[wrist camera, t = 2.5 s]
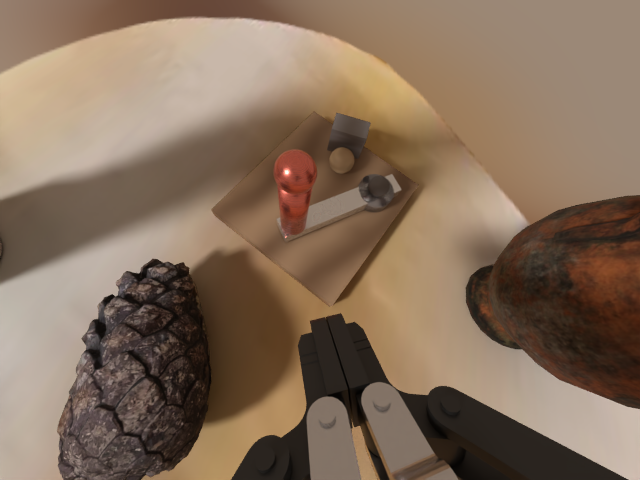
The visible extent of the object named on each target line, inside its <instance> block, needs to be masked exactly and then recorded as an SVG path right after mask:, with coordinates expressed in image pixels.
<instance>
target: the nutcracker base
mask: <svg viewBox="0 0 640 480" xmlns="http://www.w3.org/2000/svg"><path fill="white" fill-rule="evenodd" d="M369 127H370V122H367V121H363V120H360V119H356V118H353V117H350V116H346V115H343V114H340V113H336V116H335V120H334V123H333V124H331V123H330V122H328V121H327V120H326V119H324V118H323V117H321V116H320V115H318V114H317V113H316V112H313V113H312V114H311V115H310V116H309V117H308V118H307V119H306V120H305V121H304V122H302V123H301V124H300V125H299V126H298V127H297V128H296V129H295V130H294V131H293V132H292V133H291V134H290V135H289V136H288V137H287V138H286V139H285V140H284V141H283V142H282V143H280V144H279V145H278V146H277V147H276V148H275V149H274V150H273V151H272V152H271V153H270V154H269V155H268V156H267V157H266V158H265V159H264V160H263V161H262V162H261V163H260V164H259V165H257V166H256V167H255V168H254V169H253V170H252V171H251V172H250V173H249V174H248V175H247V176H246V177H245V178H244V179H243V180H242V181H241V182H240V183H239V184H238V185H237V186H235V187H234V188H233V189H232V190H231V191H230V192H229V193H228V194H227V195H226V196H225V197H224V198H223V199H222V200H221V201H220V202H219V203H218V204H217V205H216V206H215V207H213V208H212V209H211V210H212V212H213V213H214V215H215V216H216V217H217V218H218V219H220V220H221V221H222V222H223V223H225V224H226V225H227V226H229V227H230V228H231V229H232V230H234V231H235V232H236V233H237V234H239V235H240V236H241V237H242V238H244V239H245V240H246V241H247V242H249V243H250V244H251V245H252V246H254V247H255V248H256V249H258V250H259V251H260V252H261V253H263V254H264V255H265V256H266V257H268V258H269V259H270V260H271V261H273V262H274V263H275V264H276V265H278V266H279V267H280V268H281V269H283V270H284V271H285V272H287V273H288V274H289V275H290V276H292V277H293V278H294V279H295V280H297V281H298V282H299V283H300V284H302V285H303V286H304V287H305V288H307V289H308V290H309V291H311V292H312V293H313V294H314V295H316V296H317V297H318V298H319V299H321V300H322V301H323V302H324V303H326V304H327V305H328V306H329V307H330V306H332V305H333V304H334V303H335V301H336V300H337V298H338V297H339V296H340V294H341V293H342V291H343V290H344V289H345V287H346V286H347V285H348V283H349V282H350V280H351V279H352V278H353V276H354V275H355V273H356V272H357V271H358V269H359V268H360V266H361V265H362V264H363V262H364V261H365V259H366V258H367V257H368V255H369V254H370V252H371V251H372V250H373V248H374V247H375V245H376V244H377V243H378V241H379V240H380V238H381V237H382V236H383V234H384V233H385V232H386V230H387V229H388V227H389V226H390V225H391V223H392V222H393V220H394V219H395V218H396V216H397V215H398V213H399V212H400V211H401V209H402V208H403V206H404V205H405V204H406V202H407V201H408V199H409V198H410V197H411V195H412V194H413V192H414V191H415V190H416V188H417V187H418V184H416V183H415V182H414V181H412V180H411V179H409V178H408V177H406V176H405V175H404V174H402V173H401V172H399V171H398V170H396V169H395V168H394V167H392V166H391V165H389V164H388V163H387V162H385V161H384V160H382V159H381V158H379V157H378V156H377V155H375V154H374V153H372V152H371V151H370V150H368V149H367V148H365V147H364V144H365V142H366V139H367V136H368V131H369ZM293 149H297V150H302V151H304V152H306V153H308V154H309V155H310V156H311V157H312V158H313V160H314V161H315V163H316V166H317V179H316V182H315V184H314V185H313V187H312V193H311V198H310V204H309V206H311V205H313V204H316V203H319V202H321V201H324V200H326V199H329V198H331V197H334V196H337V195H339V194H342V193H344V192H347V191H349V190H352V189H355V188H357V187H358V185H359V183H360V182H361V180H362V179H363V178H364V177H365V176H367V175H370V174H378V175H381V176H375V177H373V178H372V179H371V181H370V182H369V184H368V190H369V192H370V194H372V195H373V196H375V197H383V196H384V195H385V194H386V193H387V192H388V191H389V188H390V184H389V182H388V180H387V179H386V178H384V177H385V176H388V175H391V174H392V175H393V176H394V178H395V180H396V181H397V183H398V184H399V186H400V188H401V189H402V190H401V191H400V192H399V194H398V195H397V196H396V197H394V198H393V199H392V200H391V202H390V203H389V204H388V205H387V206H386V207H385V208H384V209H383V210H382V211H380V212H375V213H373V212H368V211H365V210H362V211H360V212H358V213H355V214H353V215H350V216H348V217H345V218H343V219H341V220H338V221H336V222H333V223H331V224H329V225H326V226H324V227H321V228H319V229H317V230H314V231H312V232H309V233H307V234H305V235H302V236H300V237H297V238H295V239H293V240H290V241H288V242H285V240H284V238H283V236H282V234H281V231H280V229H279V227H278V225H277V219H278V218H280V209H279V198H278V187H277V183H276V181H275V178H274V173H273V170H274V165H275V162H276V160H277V158H278V157H279V156H280V155H281V154H282V153H284V152H286V151H288V150H293ZM382 176H384V177H382Z"/></svg>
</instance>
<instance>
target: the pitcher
mask: <svg viewBox="0 0 640 480" xmlns="http://www.w3.org/2000/svg"><path fill="white" fill-rule="evenodd" d="M466 303H467V305H468V308H469V311H470V313H471V316H472V318H473V319H474V321H475V322H476V324H477V325H478V326H479V328H480V329H481V330H482V331H483V332H484V333H485V334H486V335H487V336H488V337H490V338H491V339H492V340H494V341H496V342H497V343H499V344H501V345H503V346H506V347H509V348H513V349H523V350H524V351H525V352H526V353H527V354H528V355H529V356H530V357H531V358H532V359H533V360H534V361H535V362H536V363H537V364H538V365H540V366H541V367H542V368H544V369H545V370H547V371H548V372H549V373H551V374H552V375H554V376H555V377H556V378H558V379H559V380H562V381H564V382H567V383H569V384H572V385H574V386H577V387H579V388H582V389H584V390H587V391H589V392H592V393H594V394H597V395H599V396H602V397H605V398H607V399H610V400H612V401H615V402H617V403H620V404H622V405H625V406H627V407H632V408H637V409H640V195H636V196H624V197H618V198H613V199H608V200H602V201H597V202H592V203H586V204H580V205H575V206H572V207H568V208H565V209H561V210H558V211H556V212H554V213H552V214H550V215H548V216H547V217H545V218H543V219H541V220H539V221H537V222H535V223H534V224H532V225H530V226H528V227H526V228H525V229H524V230H522V231H521V232H520V233H518V234H517V235H516V236H514V238H513V239H512V240H511V242H510V243H509V244H508V246H507V247H506V248H505V249H504V251H503V252H502V253H501V255H500V256H499V258H498V259H497V261H496V263H495V264H494V266H488V267H484V268H481V269H479V270H478V271H476V272H475V273H474V274H473V275H471V277H470V280H469V282H468V284H467V287H466Z"/></svg>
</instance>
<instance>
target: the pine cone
mask: <svg viewBox="0 0 640 480" xmlns="http://www.w3.org/2000/svg"><path fill="white" fill-rule="evenodd" d="M116 285H117V286H118V288H119V291H118V295H119V296H116V297H115V296H114V295H113V294H112V295H110V296H108V297H104V299H103V300H102V302H101V303H99V304H98V306H97V307H98V310H99V318H98V319H94V320H93V321H92V322H91V323H90V326H89V329H88V331H87V333H86V334H85V335H84V336H83V337H82V340H83V342H84V343H85V345H86V351H84V353H83V354H82V356H81V359H80V361H79V363H78V365H77V367H76V373H77V375H78V376H77V378H76V381H75V382H74V384H73V386H72V388H71V389H70V391H69V394H70V395H69V398H68V401H67V403H66V405H65V408H64V411H63V413H62V416H61V418H60V421H59V425H58V429H57V432H58V433H59V435H60V441H59V450H60V455H59V457H58V461H59V464H58V467H59V470H60V474H61V475H62V478H63V480H141V479H142V478H143V477H144V476H145V475H147V476H149V477H152V476H154V475H157V474H159V473H160V472H162V471H164V470H167V471H170V470H172V469H173V468H174V467H175V466H176V465H177V464H178V463H179V462H180V461H181V460H182V459H183V458H185V457H187V455H188V454H189V452H190V451H191V449H192V447H193V445H194V443H195V442H196V440H197V439H198V437H199V433H200V431H201V428H202V426H203V421H204V419H205V415H206V413H207V411H208V405H207V400H208V394H209V389H210V384H211V367H210V359H209V342H208V335H207V331H206V327H205V323H204V318H203V314H202V310H201V305H200V301H199V297H198V292H197V288H196V285H195V283H194V282H193V281H192V278H191V277H190V275H189V267H186V266H185V264H184V262H183V263H179V264H176V265H173V264H172V263H170V262H165V263H162V262H161V261H159V260H158V259H152V260H151V261H150V262H148V263H147V264H145V265H144V266H143V267H142V268H141V272H140V273H139V274H138V273H132V272H130V271H126V272H125V273H124V274H123V275H122V277H121V278H120V279H119V280H118V281H117V282H116Z"/></svg>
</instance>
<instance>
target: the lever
mask: <svg viewBox="0 0 640 480" xmlns="http://www.w3.org/2000/svg"><path fill="white" fill-rule="evenodd" d="M273 173H274V178H275V181H276V183H277V187H278V198H279V209H280V218H278V219H277V225H278V227H279V229H280V231H281V234H282V236H283V238H284V240H285V242H288V241H290V240H293V239H295V238H297V237H300V236H302V235H305V234H307V233H309V232H312V231H314V230H317V229H319V228H321V227H324V226H326V225H329V224H331V223H333V222H336V221H338V220H341V219H343V218H345V217H348V216H350V215H353V214H355V213H358V212H360V211H362V210H365V211H368V212H373V213H375V212H380V211H382V210H383V209H384V208H385V207H386V206H387V205H388V204H389V203H390V202H391V200H392V199H393V198H394V197H396V196H397V195H398V194H399V192H400V191H401V190H402V189H401V188H400V186H399V184H398V183H397V181H396V180H395V178H394V176H393V175H392V174H391V175H388V176H385V177H384V176H382V177H384V178H386V179H387V180H388V182H389V184H390V188H389V191H388V192H387V193H386V194H385V195H384V196H383V197H375V196H373V195H372V194H370V192H369V190H368V184H369V182H370V181H371V179H372V178H373V177H375V176H381V175H378V174H370V175H367V176H365V177H364V178H363V179H362V180H361V182H360V183H359V185H358V187H357V188H355V189H352V190H349V191H347V192H344V193H342V194H339V195H337V196H334V197H331V198H329V199H326V200H324V201H321V202H319V203H316V204H313V205H311V206H309V204H310V198H311V193H312V187H313V185H314V184H315V182H316V179H317V166H316V163H315V161H314V160H313V158H312V157H311V156H310V155H309V154H308V153H306V152H304V151H302V150H297V149H293V150H288V151H286V152H284V153H282V154H281V155H280V156H279V157H278V158H277V160H276V162H275V165H274V170H273Z"/></svg>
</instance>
